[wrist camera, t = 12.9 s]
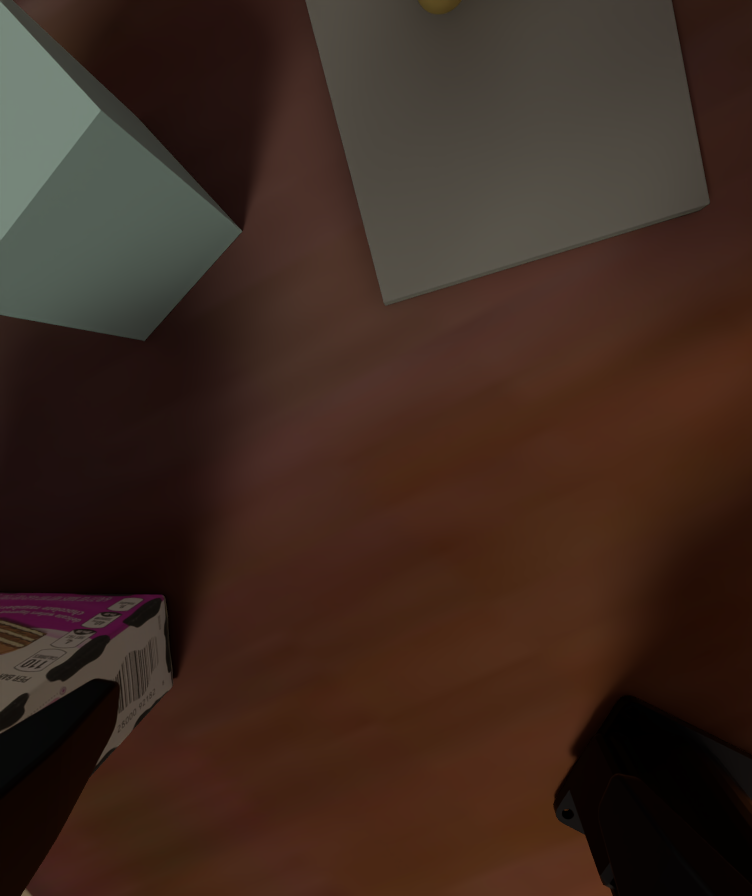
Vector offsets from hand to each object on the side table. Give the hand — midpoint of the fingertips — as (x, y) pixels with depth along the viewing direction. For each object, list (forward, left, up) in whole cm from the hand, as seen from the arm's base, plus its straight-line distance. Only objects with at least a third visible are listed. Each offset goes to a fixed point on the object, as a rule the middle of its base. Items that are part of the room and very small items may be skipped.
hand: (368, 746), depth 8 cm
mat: (+5, -18, -11) cm, 22 cm away
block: (+16, -7, -11) cm, 21 cm away
